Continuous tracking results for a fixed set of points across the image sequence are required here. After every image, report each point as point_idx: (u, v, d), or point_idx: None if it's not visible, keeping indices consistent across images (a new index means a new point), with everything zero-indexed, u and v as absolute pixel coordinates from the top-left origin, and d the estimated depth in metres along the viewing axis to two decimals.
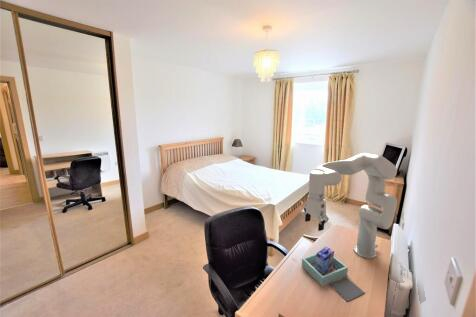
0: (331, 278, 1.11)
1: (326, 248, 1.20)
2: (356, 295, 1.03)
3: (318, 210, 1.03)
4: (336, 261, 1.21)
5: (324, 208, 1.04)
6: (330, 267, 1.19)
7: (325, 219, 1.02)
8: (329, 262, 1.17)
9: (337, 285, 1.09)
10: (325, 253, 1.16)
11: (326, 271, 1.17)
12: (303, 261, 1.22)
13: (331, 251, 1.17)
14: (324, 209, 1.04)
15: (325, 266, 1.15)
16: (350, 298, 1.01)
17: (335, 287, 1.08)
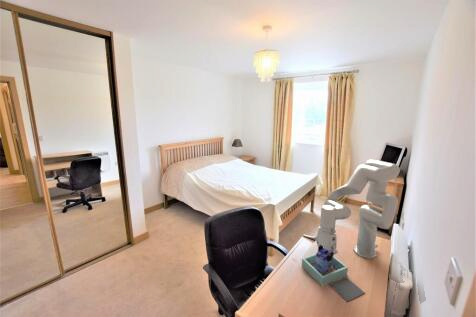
0: (331, 278, 1.11)
1: None
2: (356, 295, 1.03)
3: (329, 243, 1.11)
4: (336, 261, 1.21)
5: (335, 241, 1.11)
6: (330, 267, 1.19)
7: (334, 252, 1.10)
8: (329, 261, 1.17)
9: (337, 285, 1.09)
10: (325, 253, 1.16)
11: (326, 271, 1.17)
12: (303, 261, 1.22)
13: None
14: (335, 242, 1.11)
15: (325, 265, 1.15)
16: (350, 298, 1.01)
17: (335, 287, 1.08)
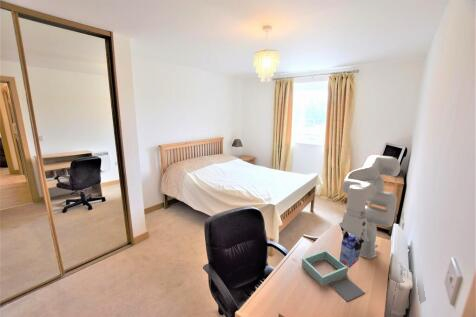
0: (331, 278, 1.11)
1: (352, 235, 1.04)
2: (356, 295, 1.03)
3: (359, 228, 0.94)
4: (336, 261, 1.21)
5: (365, 226, 0.95)
6: (357, 257, 1.03)
7: (365, 240, 0.94)
8: (357, 251, 1.01)
9: (337, 285, 1.09)
10: (352, 241, 1.00)
11: (353, 262, 1.00)
12: (303, 261, 1.22)
13: None
14: (365, 227, 0.95)
15: (353, 255, 0.99)
16: (350, 298, 1.01)
17: (335, 287, 1.08)
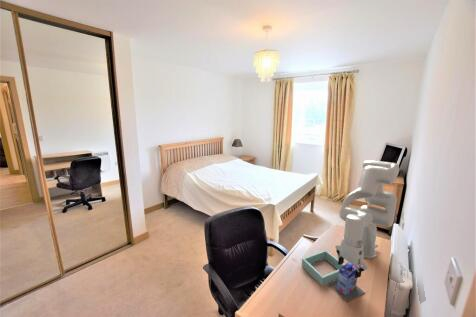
0: (331, 278, 1.11)
1: (350, 263, 1.07)
2: (356, 295, 1.03)
3: (356, 257, 0.98)
4: (336, 261, 1.21)
5: (362, 255, 0.98)
6: (354, 285, 1.06)
7: (364, 268, 0.96)
8: (354, 279, 1.04)
9: None
10: (349, 269, 1.03)
11: (350, 289, 1.04)
12: (303, 261, 1.22)
13: None
14: (362, 256, 0.98)
15: (349, 284, 1.02)
16: (350, 298, 1.01)
17: (335, 287, 1.08)
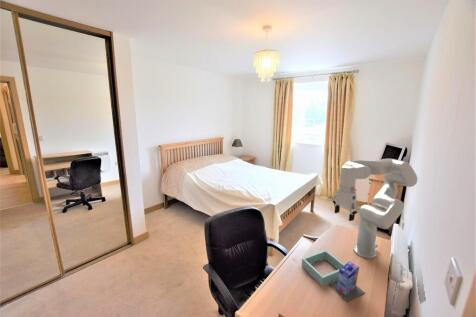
0: (331, 278, 1.11)
1: (350, 263, 1.07)
2: (356, 295, 1.03)
3: (349, 202, 1.12)
4: (336, 261, 1.21)
5: (355, 200, 1.12)
6: (354, 285, 1.06)
7: (356, 210, 1.10)
8: (354, 279, 1.04)
9: None
10: (349, 269, 1.03)
11: (350, 289, 1.04)
12: (303, 261, 1.22)
13: (356, 267, 1.05)
14: (355, 201, 1.12)
15: (349, 284, 1.02)
16: (350, 298, 1.01)
17: (335, 287, 1.08)
